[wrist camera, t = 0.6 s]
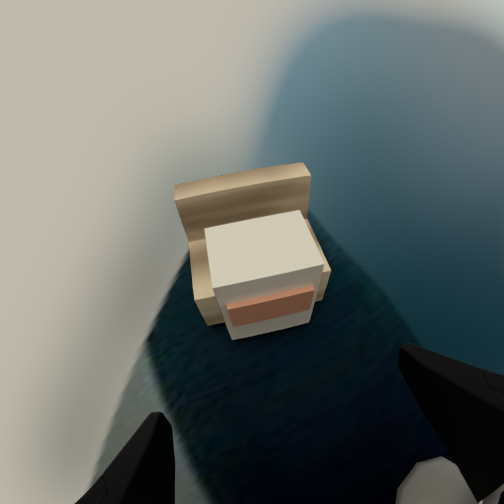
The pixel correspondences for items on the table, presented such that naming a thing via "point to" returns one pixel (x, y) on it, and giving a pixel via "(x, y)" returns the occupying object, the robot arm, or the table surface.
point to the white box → (264, 273)
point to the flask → (439, 485)
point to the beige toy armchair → (238, 216)
